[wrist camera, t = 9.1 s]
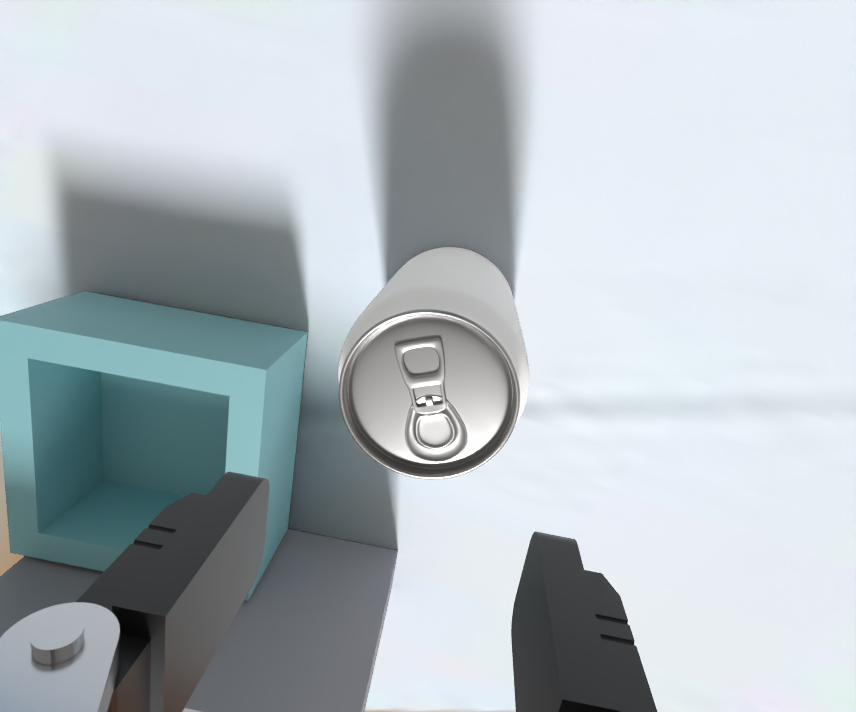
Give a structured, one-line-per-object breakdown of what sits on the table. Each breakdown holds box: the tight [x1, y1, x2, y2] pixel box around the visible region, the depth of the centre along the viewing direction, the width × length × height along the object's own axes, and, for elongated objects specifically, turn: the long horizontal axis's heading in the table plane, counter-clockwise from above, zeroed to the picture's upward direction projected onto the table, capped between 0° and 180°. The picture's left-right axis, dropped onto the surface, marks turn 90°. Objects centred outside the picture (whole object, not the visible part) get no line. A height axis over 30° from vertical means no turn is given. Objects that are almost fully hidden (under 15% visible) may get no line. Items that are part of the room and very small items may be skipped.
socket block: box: [0, 291, 308, 601], centre depth 29 cm, size 12×12×6 cm
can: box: [338, 247, 529, 479], centre depth 23 cm, size 6×6×12 cm
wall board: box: [0, 529, 398, 712], centre depth 29 cm, size 3×18×12 cm, turn 81°
